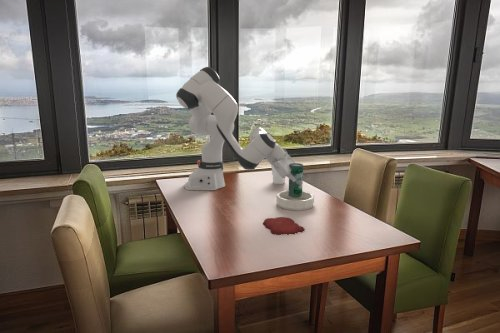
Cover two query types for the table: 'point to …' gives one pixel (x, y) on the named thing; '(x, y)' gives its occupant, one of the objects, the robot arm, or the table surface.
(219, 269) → the table surface
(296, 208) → the bowl
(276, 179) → the foam cup
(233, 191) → the table surface
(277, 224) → the red flat splat
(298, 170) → the can
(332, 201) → the table surface
